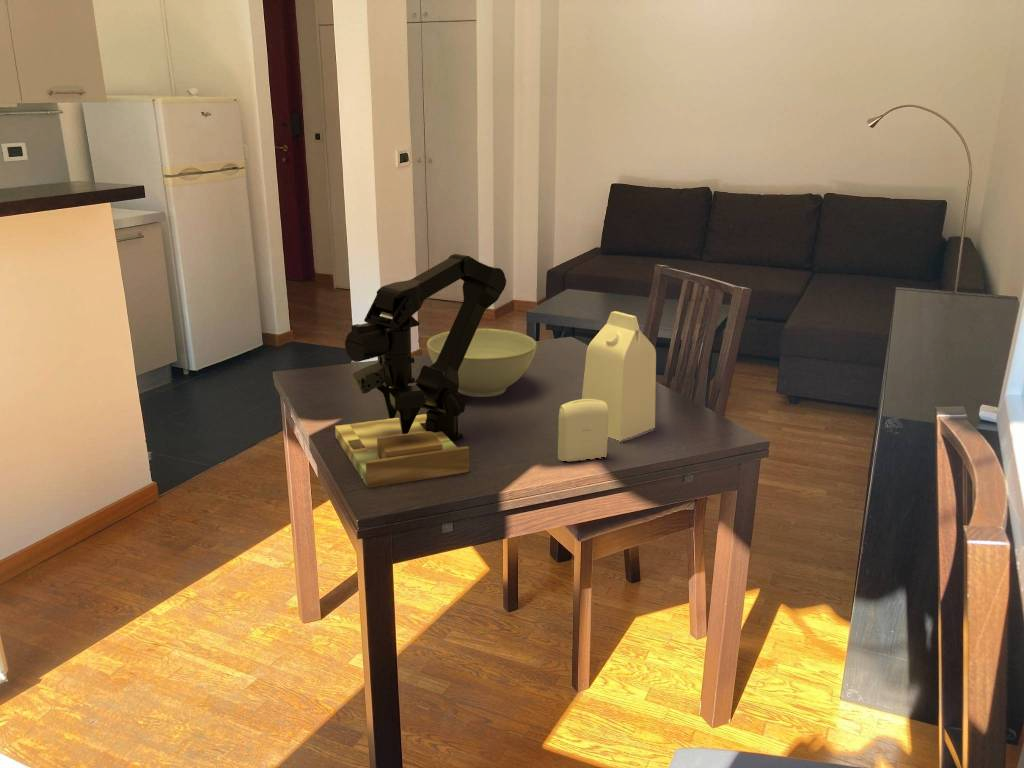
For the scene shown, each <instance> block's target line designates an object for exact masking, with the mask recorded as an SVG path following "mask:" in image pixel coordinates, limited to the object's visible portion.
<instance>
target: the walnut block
mask: <svg viewBox="0 0 1024 768" xmlns="http://www.w3.org/2000/svg"><path fill="white" fill-rule="evenodd" d="M377 450H378V457H379V458H380V459H384V458H391V457H398V456H404V455H411V454H418V453H424V452H431V451H438V450H443V448H442V443H441V442H440V441H439V440H438V438H437V437H436V436H435V435H434V433H433V432H425V433H417V434H409V435H401V436H393V437H385V438H377Z"/></svg>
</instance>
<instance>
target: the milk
mask: <svg viewBox="0 0 1024 768" xmlns="http://www.w3.org/2000/svg"><path fill="white" fill-rule="evenodd" d="M656 375H657V350H656V348H655V346H654V345H653V343H652V342H651V341H650V340H649V339H648V338H647V336H645V334H643V332H642V331H641V330H640V326H639V323H638V318H637V316H636V315H633V314H628V313H626V312H621V311H616V310H614V311H611V312H610V313H609V316H608V319H607V321H606V323H605V325H604V326H603V327H602V328H601V329H600V330H599V332H598V333H597V334H596V335H595V336H594V337H593V339H592V340H591V341H590V343H589V344H588V346H587V349H586V353H585V365H584V376H583V384H582V394H581V399H595V400H601V401H604V402H605V403H606V404H607V406H608V412H609V416H608V437H610V438H613V439H616V440H619V441H621V440H623V439H626V438H628V437H632V436H634V435H637V434H639V433H642V432H644V431H647V430H649V429H652V428H655V429H656V388H657V387H656V381H657V376H656Z"/></svg>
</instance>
